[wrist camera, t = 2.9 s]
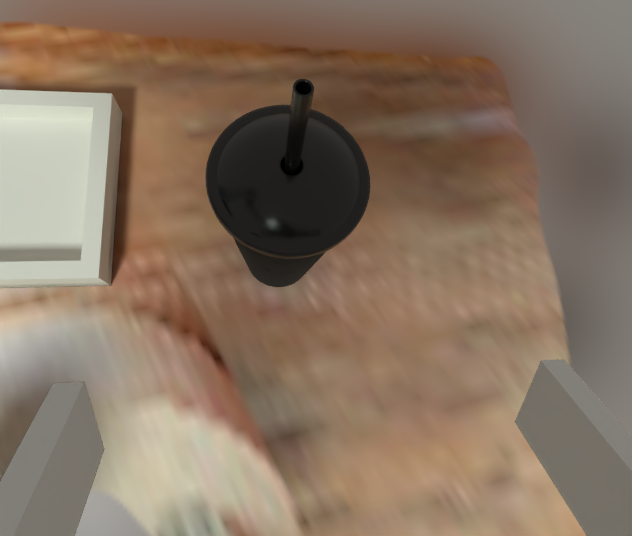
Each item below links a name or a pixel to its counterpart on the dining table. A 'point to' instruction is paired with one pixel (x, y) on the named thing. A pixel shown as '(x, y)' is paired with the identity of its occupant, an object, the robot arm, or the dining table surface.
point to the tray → (58, 187)
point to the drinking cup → (287, 186)
